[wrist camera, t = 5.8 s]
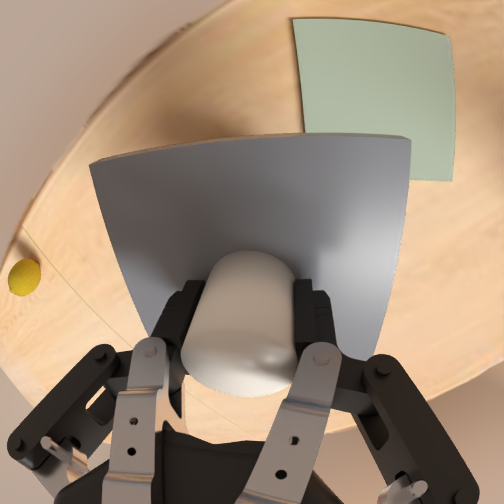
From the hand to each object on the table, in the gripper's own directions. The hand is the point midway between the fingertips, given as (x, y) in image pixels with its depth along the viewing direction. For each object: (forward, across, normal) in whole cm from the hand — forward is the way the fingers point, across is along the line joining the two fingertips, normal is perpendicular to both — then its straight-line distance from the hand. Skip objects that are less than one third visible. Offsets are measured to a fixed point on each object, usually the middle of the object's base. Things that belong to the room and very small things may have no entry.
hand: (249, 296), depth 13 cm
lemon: (+19, +40, +10) cm, 45 cm away
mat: (+18, -12, -8) cm, 23 cm away
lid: (+1, 0, 0) cm, 1 cm away
